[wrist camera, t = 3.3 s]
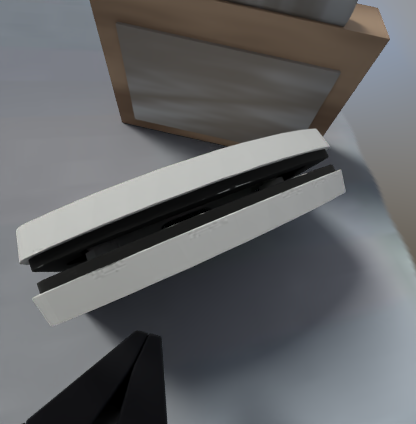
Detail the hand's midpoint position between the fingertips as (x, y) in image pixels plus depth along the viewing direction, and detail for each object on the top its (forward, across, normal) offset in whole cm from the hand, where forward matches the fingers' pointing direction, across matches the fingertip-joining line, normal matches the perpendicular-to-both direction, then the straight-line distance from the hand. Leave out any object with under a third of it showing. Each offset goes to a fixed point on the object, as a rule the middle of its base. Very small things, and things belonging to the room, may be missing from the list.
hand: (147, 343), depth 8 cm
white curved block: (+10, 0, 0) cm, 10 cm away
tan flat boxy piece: (+18, 0, -8) cm, 19 cm away
